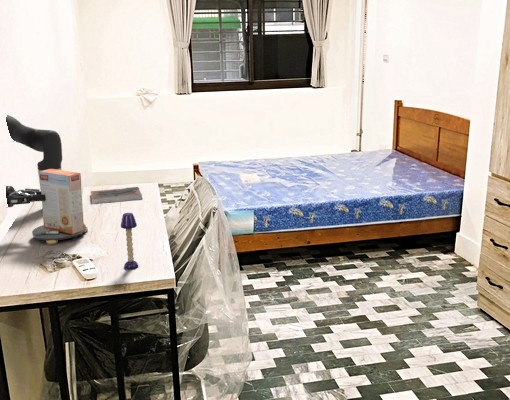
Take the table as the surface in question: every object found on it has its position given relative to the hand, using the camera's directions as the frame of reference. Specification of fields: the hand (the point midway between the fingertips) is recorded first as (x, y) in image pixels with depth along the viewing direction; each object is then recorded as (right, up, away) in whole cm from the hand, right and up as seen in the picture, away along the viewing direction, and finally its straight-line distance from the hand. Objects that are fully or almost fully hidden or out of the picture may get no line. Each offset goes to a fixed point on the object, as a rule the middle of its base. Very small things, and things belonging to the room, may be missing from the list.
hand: (47, 196), depth 191 cm
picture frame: (+10, -1, +57) cm, 58 cm away
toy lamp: (+36, -22, -26) cm, 49 cm away
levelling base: (+3, -14, +4) cm, 15 cm away
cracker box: (+5, -12, +1) cm, 13 cm away
